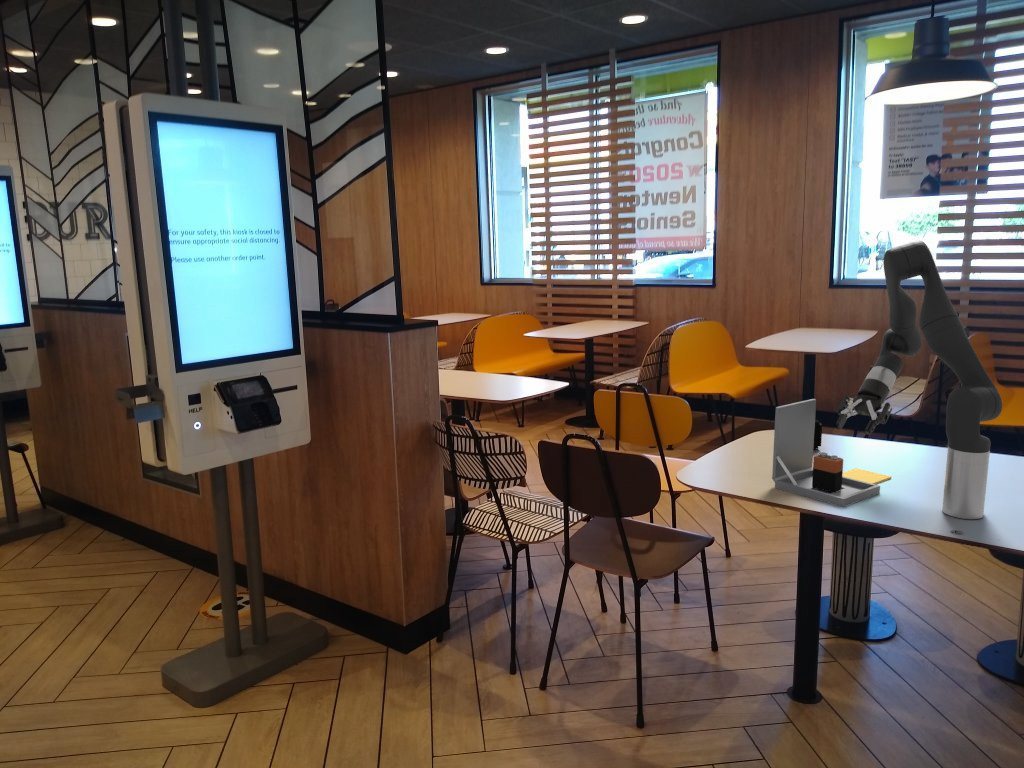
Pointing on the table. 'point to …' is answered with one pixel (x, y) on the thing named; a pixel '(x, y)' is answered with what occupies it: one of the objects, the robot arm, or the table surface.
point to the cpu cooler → (817, 434)
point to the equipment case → (806, 457)
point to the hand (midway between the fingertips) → (852, 429)
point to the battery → (827, 472)
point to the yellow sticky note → (865, 476)
